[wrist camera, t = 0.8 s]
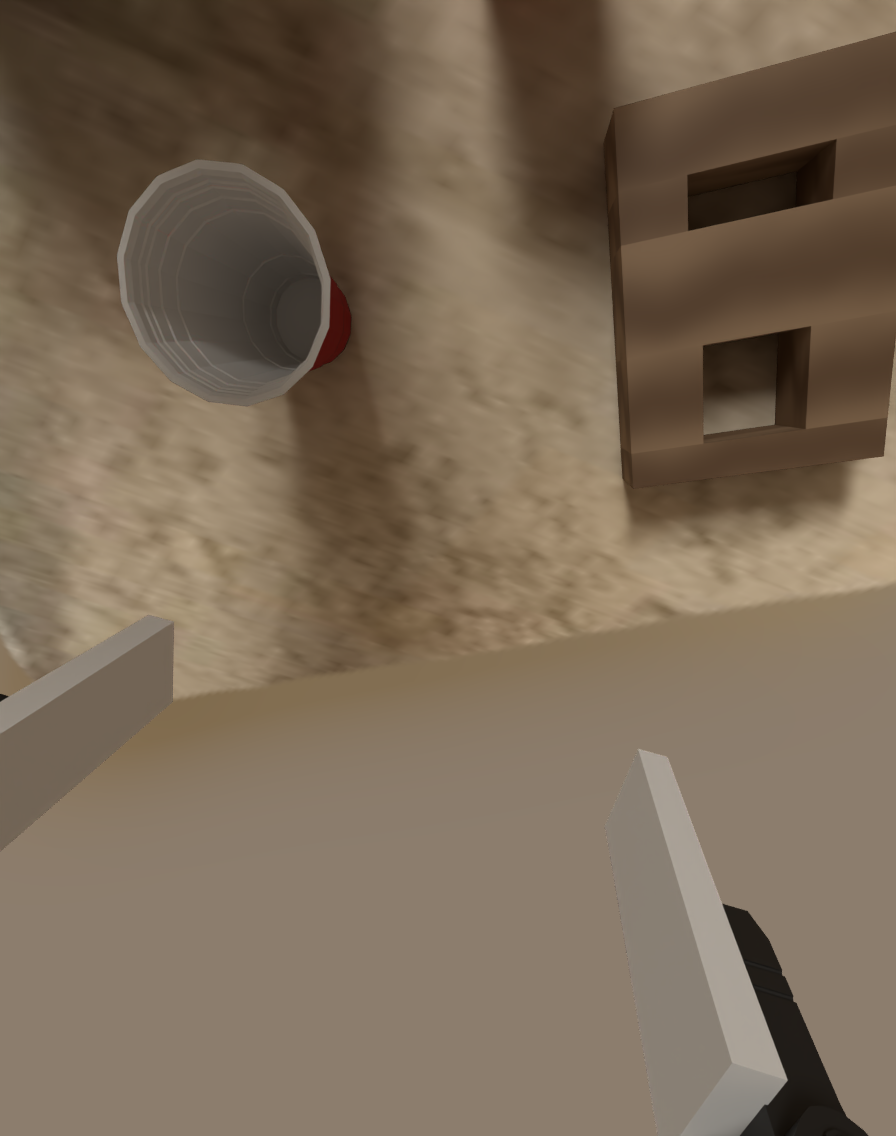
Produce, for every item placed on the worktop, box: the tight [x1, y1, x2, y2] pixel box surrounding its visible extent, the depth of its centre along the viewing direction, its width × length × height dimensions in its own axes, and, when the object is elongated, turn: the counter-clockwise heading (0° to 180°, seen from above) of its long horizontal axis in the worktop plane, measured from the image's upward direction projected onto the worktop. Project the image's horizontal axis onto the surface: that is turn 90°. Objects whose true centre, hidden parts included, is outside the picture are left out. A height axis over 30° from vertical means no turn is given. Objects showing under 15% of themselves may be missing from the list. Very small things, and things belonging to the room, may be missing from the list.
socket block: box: [604, 32, 896, 489], centre depth 30 cm, size 20×14×4 cm
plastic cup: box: [117, 159, 351, 406], centre depth 30 cm, size 11×11×12 cm
